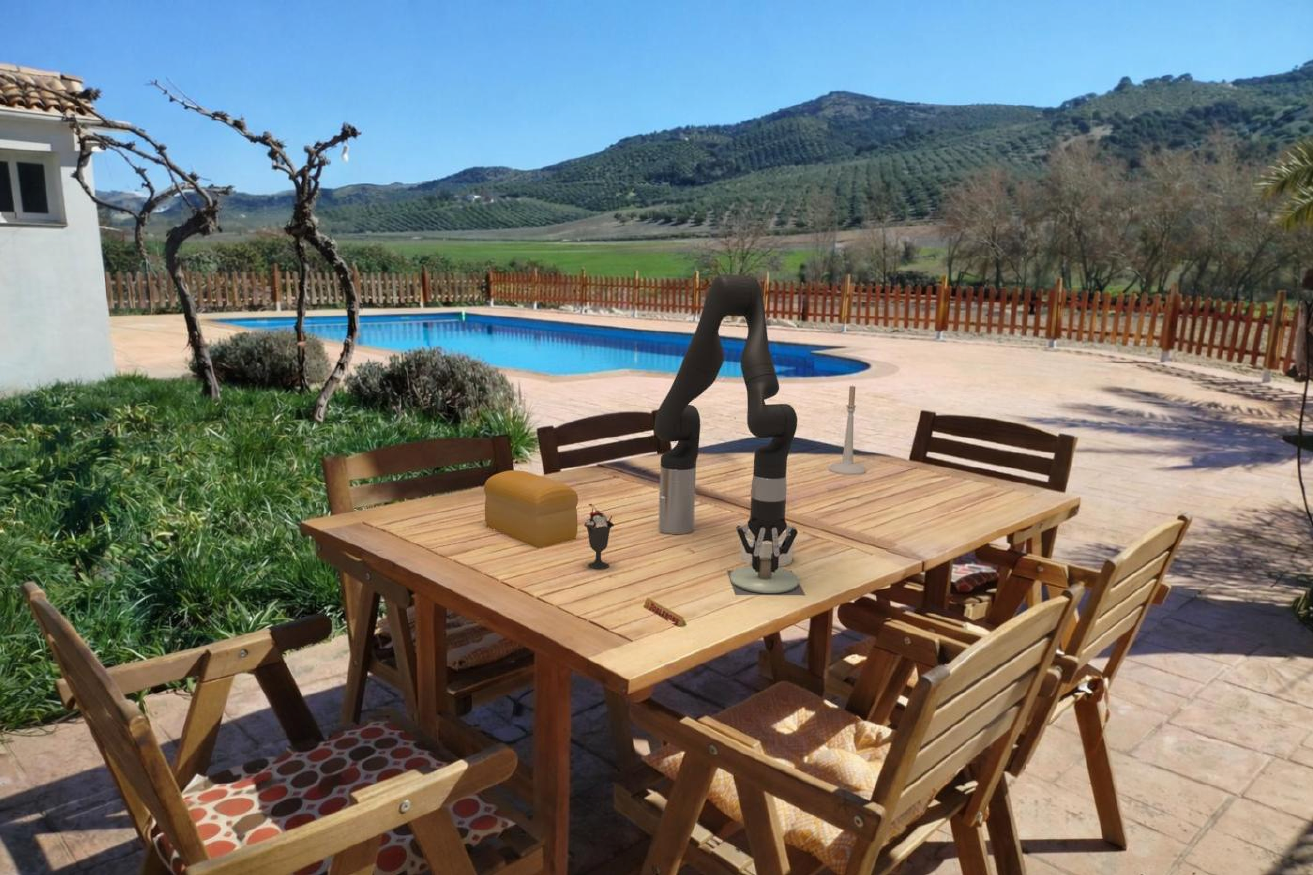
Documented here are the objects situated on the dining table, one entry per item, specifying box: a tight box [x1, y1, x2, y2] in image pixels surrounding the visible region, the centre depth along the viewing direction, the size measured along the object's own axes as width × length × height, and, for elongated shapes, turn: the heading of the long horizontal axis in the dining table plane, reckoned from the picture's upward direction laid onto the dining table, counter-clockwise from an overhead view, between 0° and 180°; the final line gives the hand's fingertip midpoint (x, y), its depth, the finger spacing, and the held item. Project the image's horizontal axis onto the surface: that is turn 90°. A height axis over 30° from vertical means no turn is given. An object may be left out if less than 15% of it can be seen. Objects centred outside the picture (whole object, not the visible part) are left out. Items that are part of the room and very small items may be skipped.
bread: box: [483, 469, 579, 549], centre depth 225 cm, size 24×13×15 cm, turn 43°
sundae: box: [583, 503, 615, 571], centre depth 201 cm, size 7×7×15 cm
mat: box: [726, 569, 806, 596], centre depth 193 cm, size 15×15×1 cm
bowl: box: [740, 529, 795, 568], centre depth 208 cm, size 12×12×6 cm
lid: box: [729, 558, 800, 593], centre depth 192 cm, size 15×15×5 cm
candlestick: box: [828, 385, 867, 476], centre depth 301 cm, size 13×13×30 cm
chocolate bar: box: [642, 597, 687, 628], centre depth 174 cm, size 3×12×2 cm, turn 35°
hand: (764, 570), depth 192 cm, fingers closed on lid, 3 cm apart
